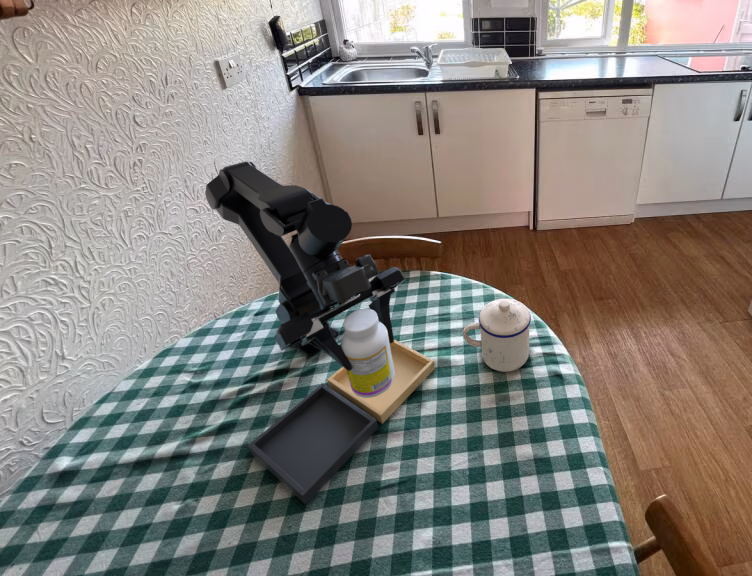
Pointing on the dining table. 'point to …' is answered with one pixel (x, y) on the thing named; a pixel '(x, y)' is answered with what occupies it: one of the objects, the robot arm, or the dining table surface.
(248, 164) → the robot arm
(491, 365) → the teacup with lid
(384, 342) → the supplement bottle
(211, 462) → the dining table surface
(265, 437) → the dark tray
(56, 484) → the dining table surface
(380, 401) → the light tray
